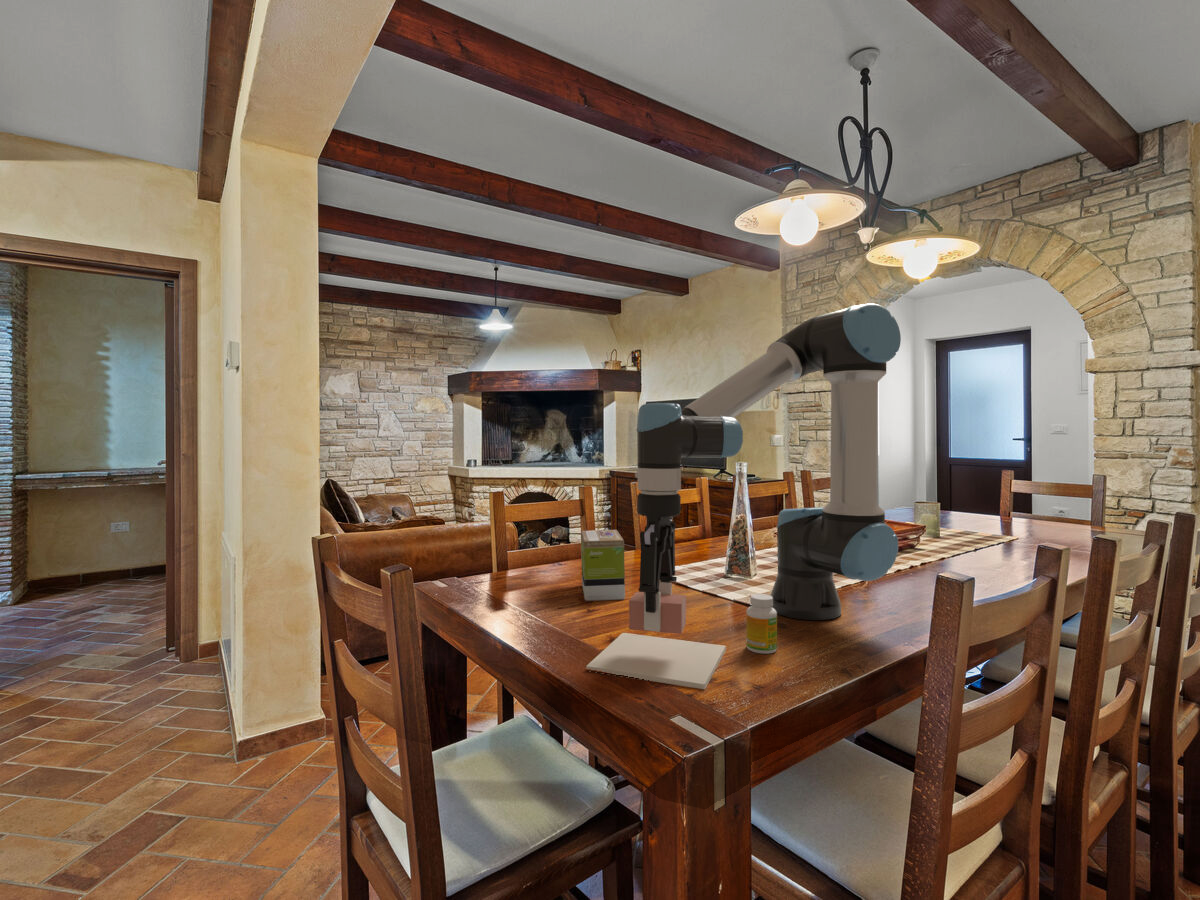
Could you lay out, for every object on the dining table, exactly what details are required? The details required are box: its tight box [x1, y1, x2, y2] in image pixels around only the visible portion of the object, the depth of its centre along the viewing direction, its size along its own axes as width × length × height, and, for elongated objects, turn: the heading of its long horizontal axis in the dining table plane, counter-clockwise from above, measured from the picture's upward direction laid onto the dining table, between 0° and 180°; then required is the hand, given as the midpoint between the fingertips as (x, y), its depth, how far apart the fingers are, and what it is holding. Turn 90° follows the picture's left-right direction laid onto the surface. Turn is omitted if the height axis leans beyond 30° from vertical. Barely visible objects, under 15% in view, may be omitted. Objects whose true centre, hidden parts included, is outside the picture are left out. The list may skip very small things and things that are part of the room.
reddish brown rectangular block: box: [628, 591, 687, 635], centre depth 104 cm, size 6×9×5 cm, turn 75°
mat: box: [586, 632, 727, 690], centre depth 104 cm, size 20×18×1 cm
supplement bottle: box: [746, 593, 778, 655], centre depth 109 cm, size 5×5×10 cm
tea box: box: [580, 529, 626, 602], centre depth 149 cm, size 15×10×15 cm
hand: (658, 623), depth 104 cm, fingers closed on reddish brown rectangular block, 6 cm apart
